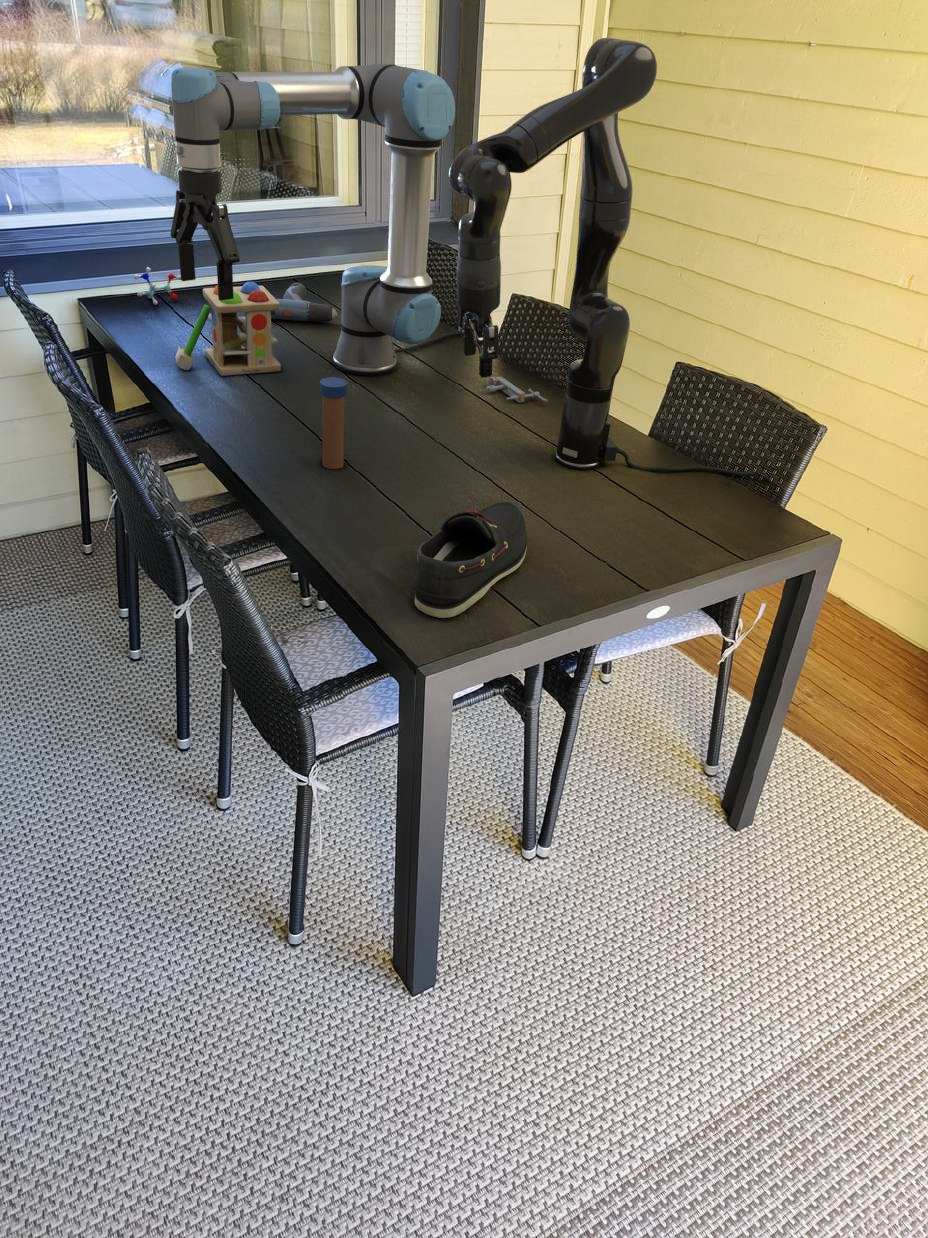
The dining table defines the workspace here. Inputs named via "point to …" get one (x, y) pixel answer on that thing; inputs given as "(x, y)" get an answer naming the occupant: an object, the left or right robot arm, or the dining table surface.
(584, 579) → the dining table surface
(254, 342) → the pounding bench toy
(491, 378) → the clamp
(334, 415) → the jar
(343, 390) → the lid
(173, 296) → the molecular model
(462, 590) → the boat shoe
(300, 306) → the power drill
